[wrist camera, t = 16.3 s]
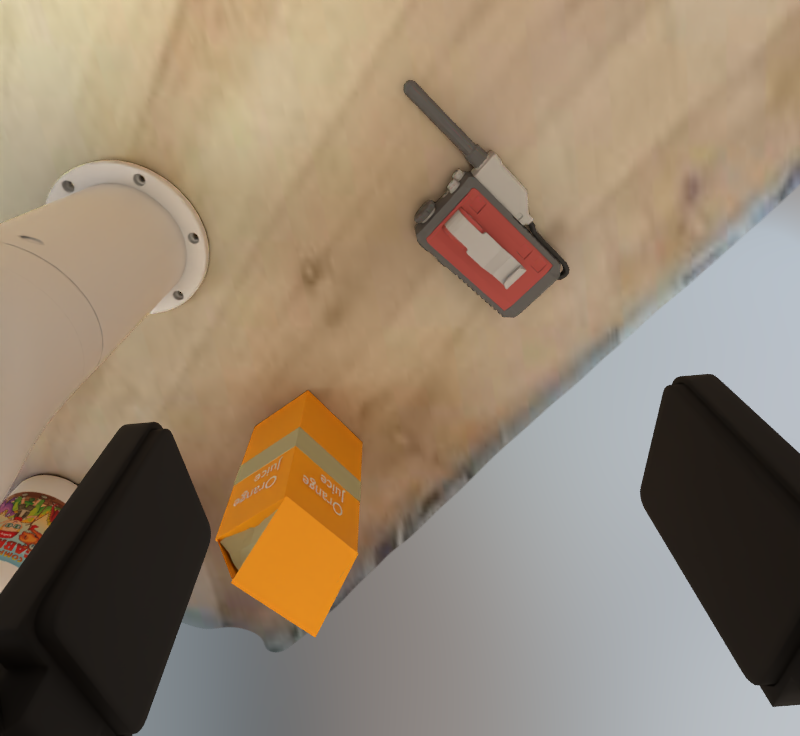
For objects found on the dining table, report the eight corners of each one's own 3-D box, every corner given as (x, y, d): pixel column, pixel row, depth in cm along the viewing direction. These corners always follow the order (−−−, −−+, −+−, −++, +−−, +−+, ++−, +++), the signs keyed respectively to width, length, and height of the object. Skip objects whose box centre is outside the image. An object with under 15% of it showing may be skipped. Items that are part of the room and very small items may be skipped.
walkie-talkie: (584, 248, 43) (414, 69, 36) (603, 265, 39) (418, 69, 32) (508, 317, 46) (339, 166, 39) (519, 340, 42) (334, 177, 35)
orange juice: (310, 475, 56) (279, 656, 39) (253, 426, 52) (190, 603, 35) (364, 442, 53) (356, 618, 36) (309, 388, 50) (271, 557, 32)
